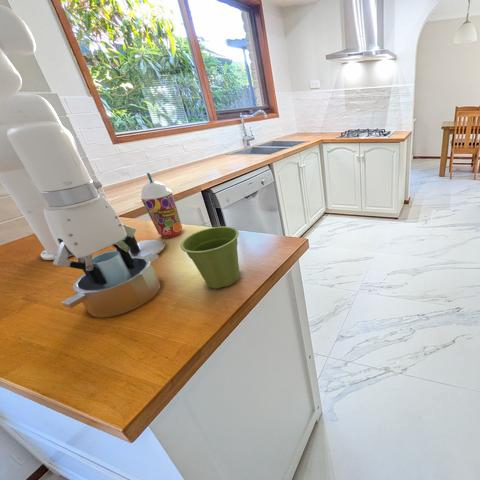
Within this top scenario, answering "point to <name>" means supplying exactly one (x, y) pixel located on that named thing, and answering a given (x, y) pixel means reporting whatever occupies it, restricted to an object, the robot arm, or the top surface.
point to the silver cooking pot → (118, 291)
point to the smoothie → (161, 208)
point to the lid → (145, 247)
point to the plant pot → (214, 255)
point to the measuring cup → (112, 268)
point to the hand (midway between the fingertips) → (114, 274)
